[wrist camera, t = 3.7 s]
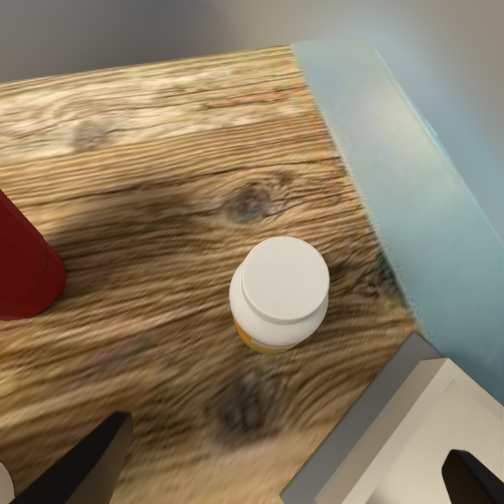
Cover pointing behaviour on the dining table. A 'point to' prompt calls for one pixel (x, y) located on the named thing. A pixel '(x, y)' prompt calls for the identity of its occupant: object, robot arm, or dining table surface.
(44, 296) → the plastic cup
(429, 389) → the dish
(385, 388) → the mat
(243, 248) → the dining table surface
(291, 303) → the supplement bottle
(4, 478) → the cylindrical container
